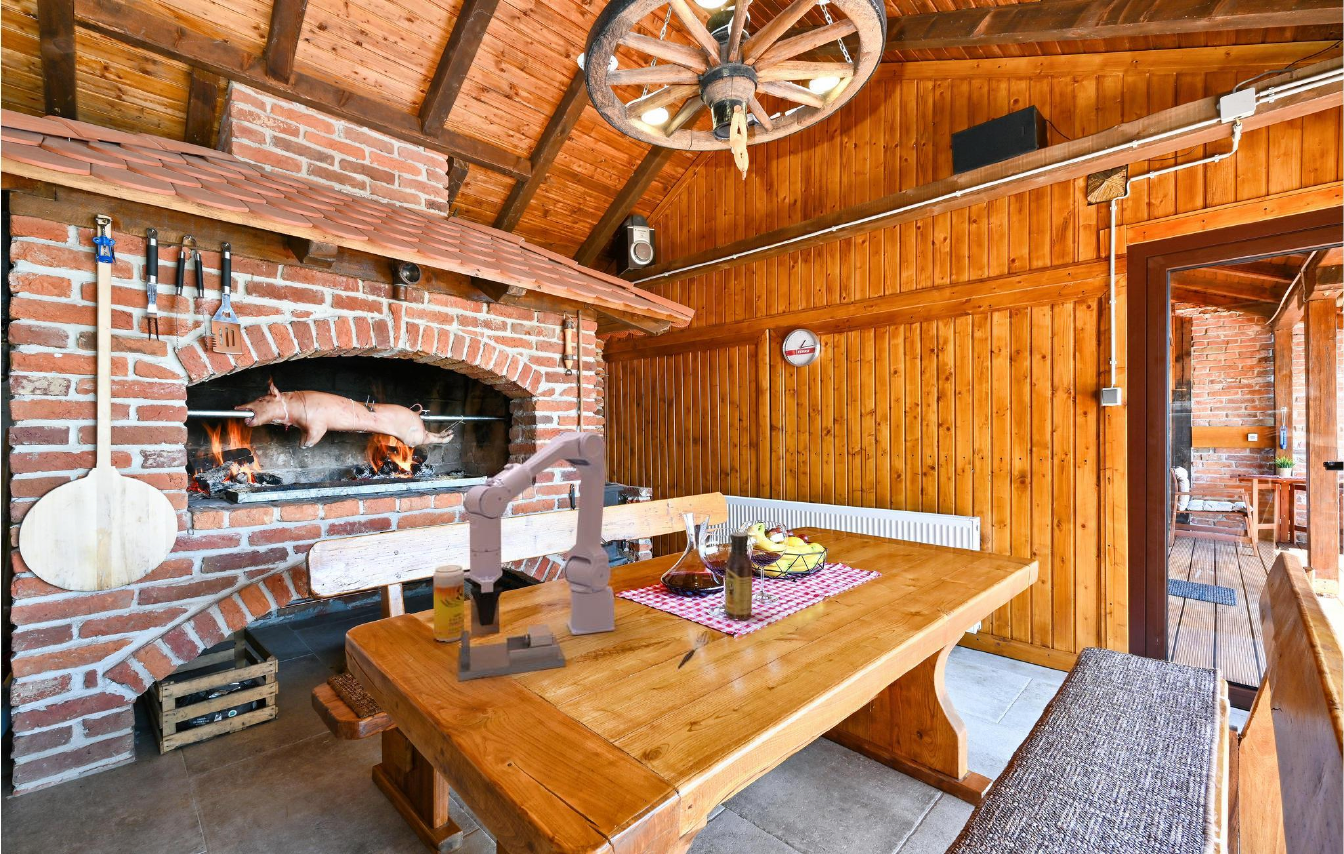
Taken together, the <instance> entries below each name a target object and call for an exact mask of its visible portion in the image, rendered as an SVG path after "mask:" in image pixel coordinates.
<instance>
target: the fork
mask: <svg viewBox="0 0 1344 854" xmlns="http://www.w3.org/2000/svg"><path fill="white" fill-rule="evenodd" d="M699 633H700V631H698V633H697V634H696V635H697V636H696V638H695V640H694V643H693V644H694V645H695V644H696V645H700V644H706V645H707V642H708V638H709V634H710V632H708V633H706V631H705V632H704V634H703V632H701V634H700V636H699ZM702 634H703V637H702ZM706 634H707V635H706ZM705 636H706V638H705ZM698 638H699V639H698ZM697 649H700V647H699V646H693V649H692V650H690V651H688V653H686V654H685V655H684V657H683V658H682V660H681V662H680V663H679V665H678V667H677V669H680V668H682V666H684V665H685V664H686V663H687V662H688V661H690V659H691V658H692V657H693V655H694V653H695V651H696V650H697ZM686 661H687V662H686ZM685 662H686V663H685ZM684 663H685V664H684Z"/></svg>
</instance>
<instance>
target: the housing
mask: <svg viewBox="0 0 1344 854" xmlns="http://www.w3.org/2000/svg"><path fill="white" fill-rule="evenodd" d="M469 597H470V601H469V602H470V635H471V636H470V637H471V638H474V637H482V636H488V635H489V636H490V635H499V634H500V601H499V599H500V598H499V599H498V601H497V605H496V610H495V616H494V621H493V624H492V625H485V626H481V624H480V621H479V615H478V610H477V605H476V602H475V600H474V598H473V596H469Z"/></svg>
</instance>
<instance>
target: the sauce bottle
mask: <svg viewBox="0 0 1344 854" xmlns="http://www.w3.org/2000/svg"><path fill="white" fill-rule="evenodd" d="M730 541H731V542H730V545H731V546H730V547H731V549H730V553H729V556H728V559H727V562H726V564H725V588H724V589H725V590H724V592H725V597H724V598H725V601H724V602H725V603H724V604H725V605H724V608H725V616H726V617H727V618H728V617H729V618H728V619H730V620H732V619H738V620H737V621H744V620H743V619H747V620H749V619H750V618H751V616H752V611H753V609H752V608H753V605H752V603H753V573H752V571H753V568H752V567H753V562H752V560H751V557H750V556H749V554H748V550H749V549H748V541H749V534H748V533H747V532H740V531H739V532H737V531H735V532H732V533H730Z"/></svg>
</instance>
